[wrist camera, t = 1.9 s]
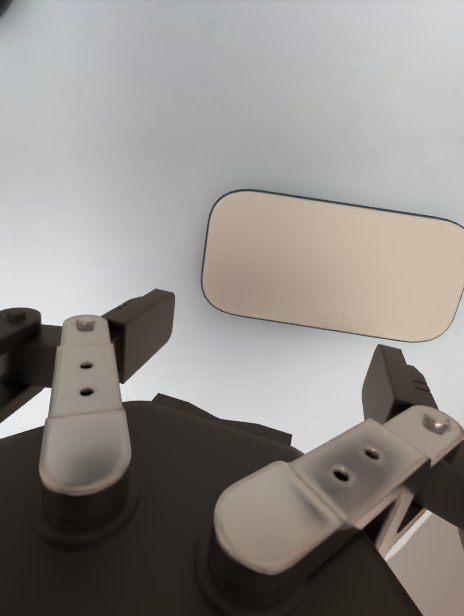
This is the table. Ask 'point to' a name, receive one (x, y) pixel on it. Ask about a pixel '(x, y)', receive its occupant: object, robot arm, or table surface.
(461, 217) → the table surface
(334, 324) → the external hard drive
